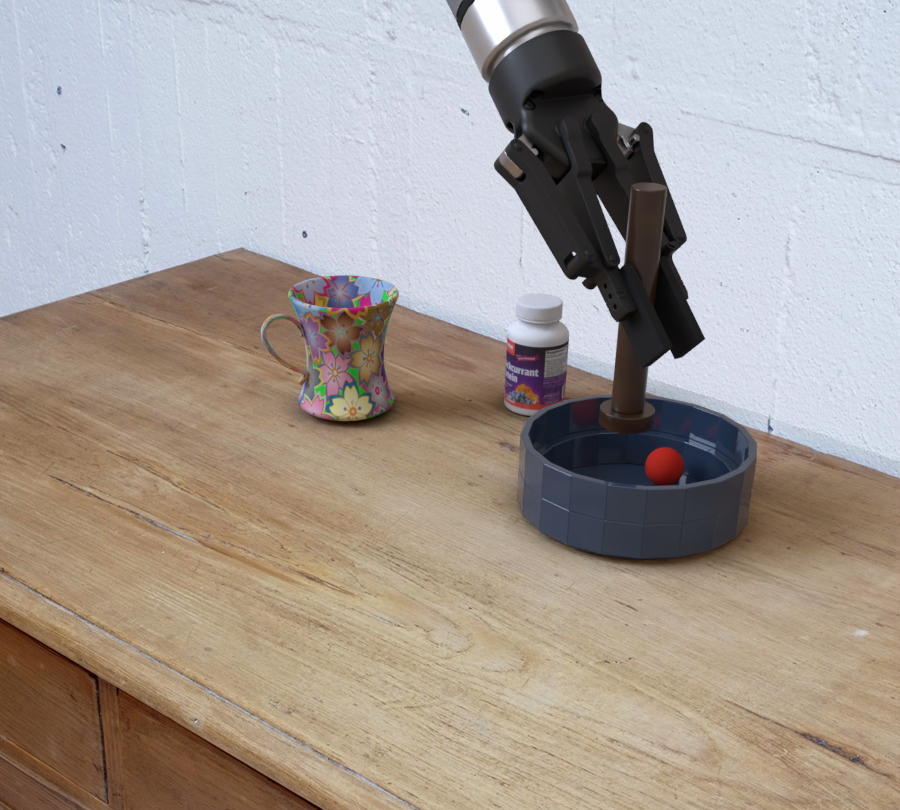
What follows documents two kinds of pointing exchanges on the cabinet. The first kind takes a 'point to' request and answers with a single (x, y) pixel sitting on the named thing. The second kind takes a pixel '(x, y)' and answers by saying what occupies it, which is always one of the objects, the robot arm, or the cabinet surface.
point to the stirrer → (644, 252)
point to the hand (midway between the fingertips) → (673, 352)
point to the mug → (341, 345)
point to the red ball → (664, 466)
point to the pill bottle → (536, 355)
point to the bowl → (635, 480)
